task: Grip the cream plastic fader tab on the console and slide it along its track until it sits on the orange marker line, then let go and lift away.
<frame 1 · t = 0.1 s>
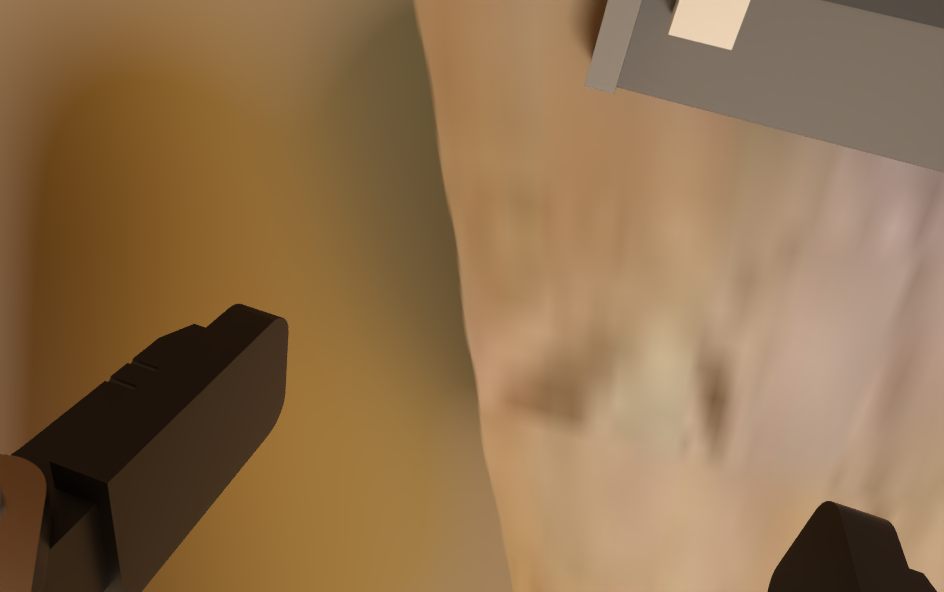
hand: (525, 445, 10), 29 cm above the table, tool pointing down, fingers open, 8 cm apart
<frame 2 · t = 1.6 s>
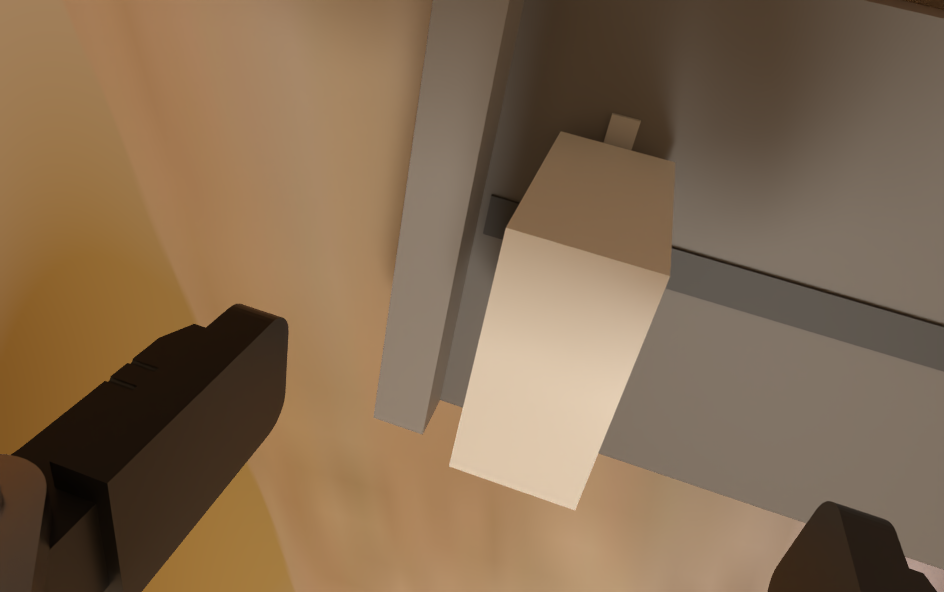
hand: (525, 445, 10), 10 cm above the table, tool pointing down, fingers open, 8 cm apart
console: (868, 272, 17), on the table
fader tab: (567, 307, 13), point 6 cm above the table, slide at 0.0 cm
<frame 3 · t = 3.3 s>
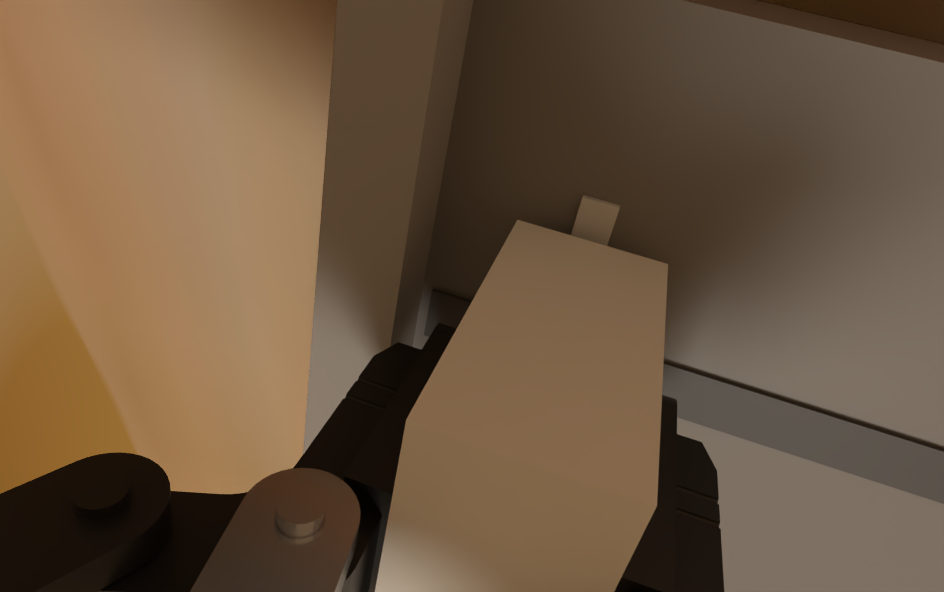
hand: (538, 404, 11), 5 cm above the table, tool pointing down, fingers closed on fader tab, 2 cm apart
console: (907, 376, 14), on the table
fader tab: (522, 464, 10), point 6 cm above the table, slide at 0.0 cm, touching gripper
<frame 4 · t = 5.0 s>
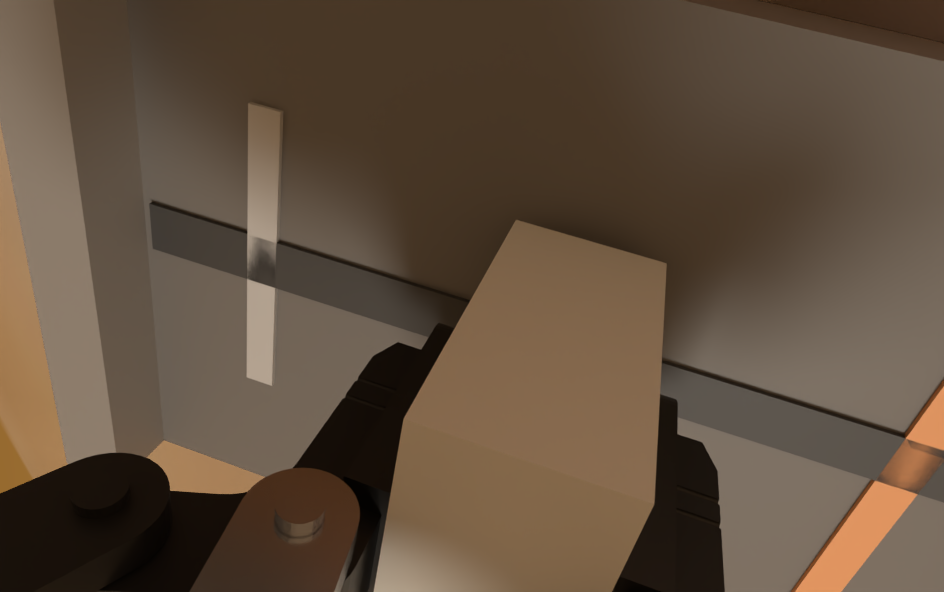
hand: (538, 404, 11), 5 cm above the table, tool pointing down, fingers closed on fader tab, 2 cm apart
console: (630, 292, 14), on the table
fader tab: (521, 464, 10), point 6 cm above the table, slide at 5.8 cm, touching gripper
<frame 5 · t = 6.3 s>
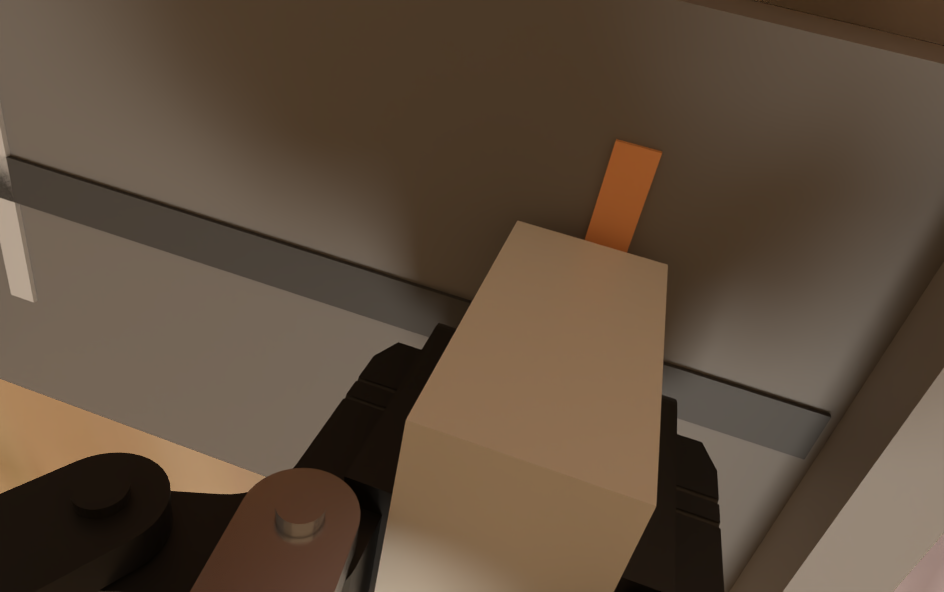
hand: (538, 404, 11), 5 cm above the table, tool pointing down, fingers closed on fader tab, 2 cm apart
console: (376, 216, 15), on the table
fader tab: (522, 465, 10), point 6 cm above the table, slide at 11.8 cm, touching gripper
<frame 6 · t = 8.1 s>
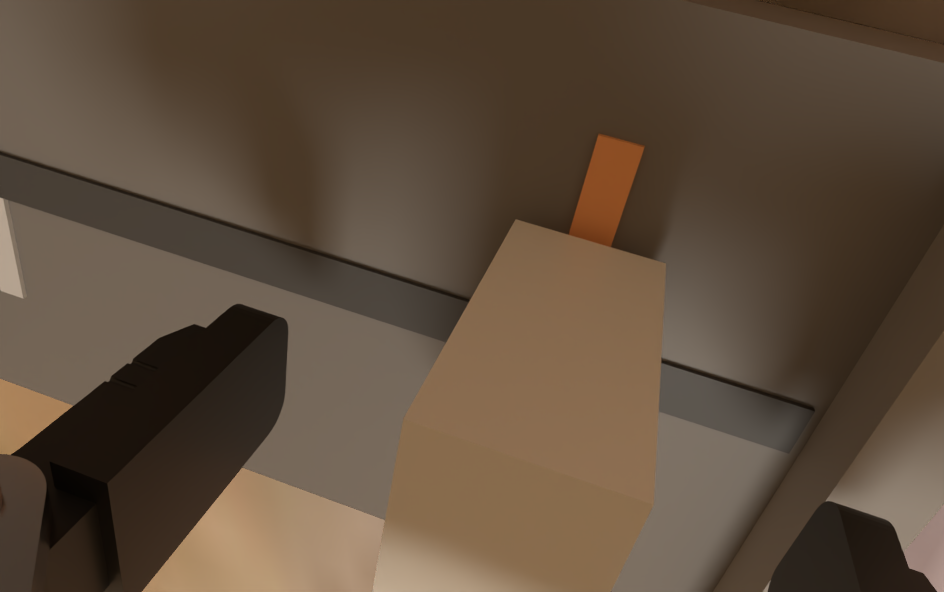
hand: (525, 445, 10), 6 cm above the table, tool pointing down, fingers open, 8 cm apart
console: (365, 212, 15), on the table
fader tab: (520, 464, 10), point 6 cm above the table, slide at 12.0 cm
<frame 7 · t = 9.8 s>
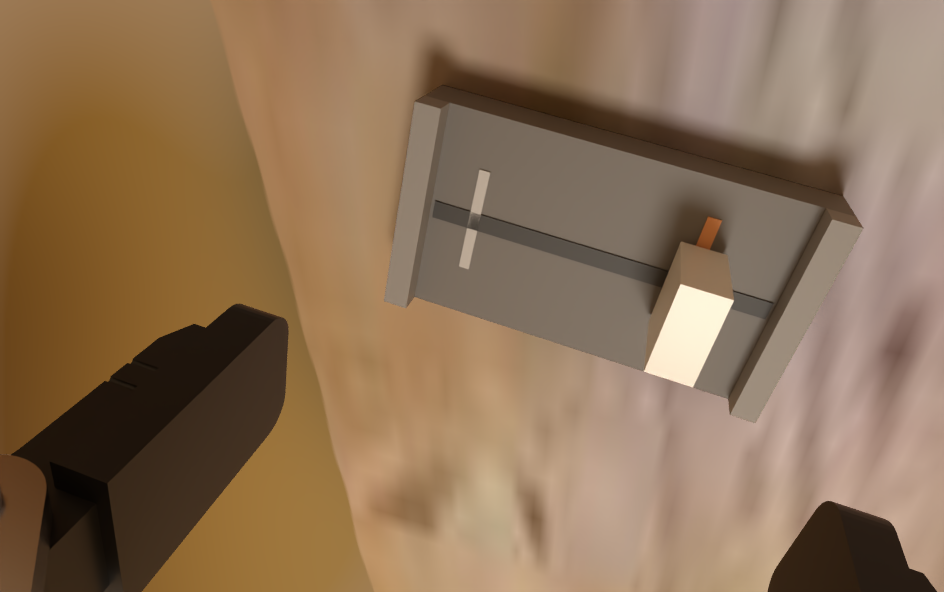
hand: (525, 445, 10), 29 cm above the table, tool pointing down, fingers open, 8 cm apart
console: (601, 237, 39), on the table
fader tab: (686, 312, 33), point 6 cm above the table, slide at 12.0 cm
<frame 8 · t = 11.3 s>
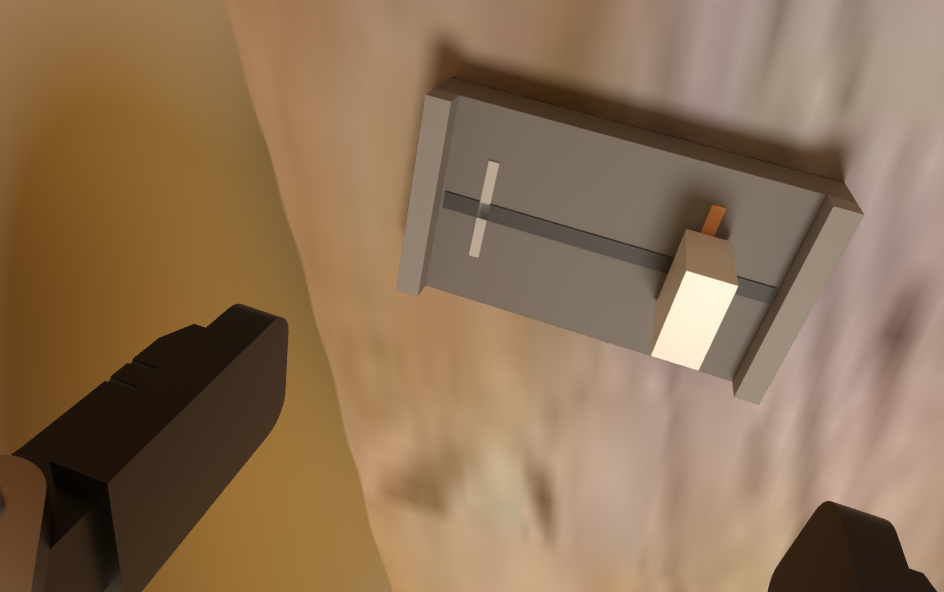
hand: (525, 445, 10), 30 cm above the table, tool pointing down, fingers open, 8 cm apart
console: (607, 225, 40), on the table
fader tab: (692, 297, 34), point 6 cm above the table, slide at 12.0 cm
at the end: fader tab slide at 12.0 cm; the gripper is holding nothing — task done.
